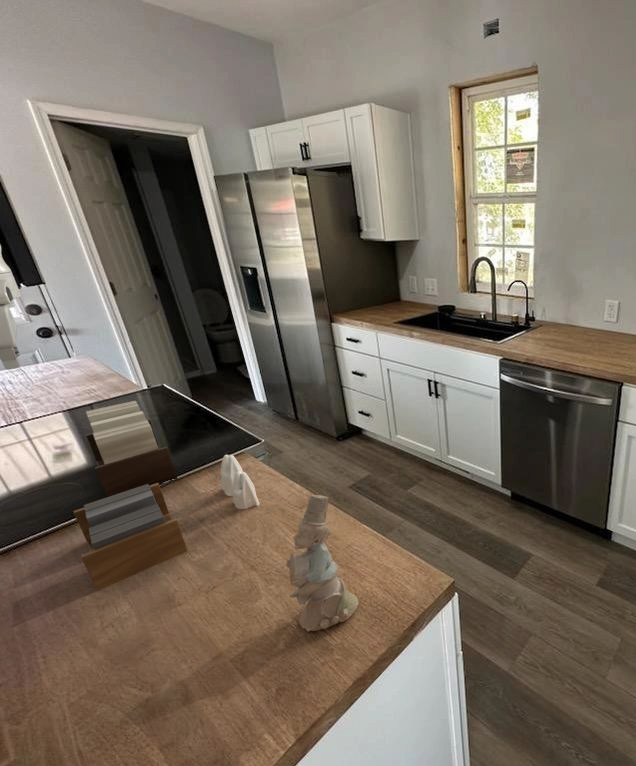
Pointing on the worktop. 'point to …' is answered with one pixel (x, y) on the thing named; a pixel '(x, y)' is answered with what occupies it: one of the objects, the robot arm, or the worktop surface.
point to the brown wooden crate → (128, 452)
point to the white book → (117, 421)
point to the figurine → (318, 572)
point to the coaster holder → (128, 534)
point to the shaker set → (237, 484)
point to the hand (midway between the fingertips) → (13, 362)
